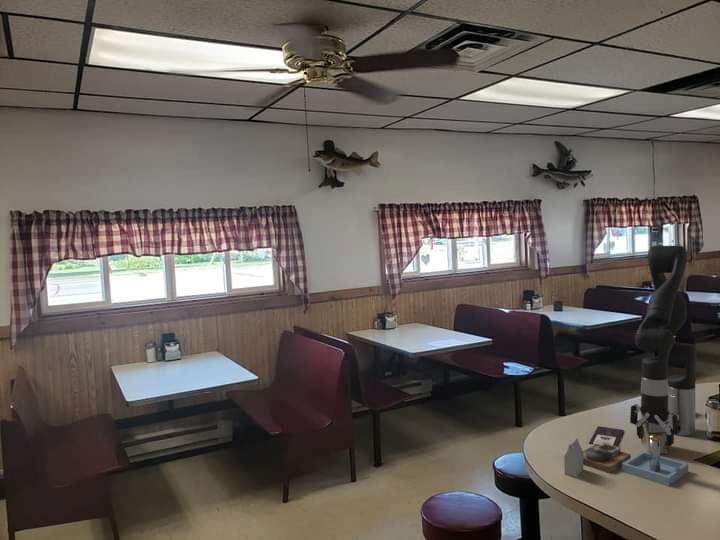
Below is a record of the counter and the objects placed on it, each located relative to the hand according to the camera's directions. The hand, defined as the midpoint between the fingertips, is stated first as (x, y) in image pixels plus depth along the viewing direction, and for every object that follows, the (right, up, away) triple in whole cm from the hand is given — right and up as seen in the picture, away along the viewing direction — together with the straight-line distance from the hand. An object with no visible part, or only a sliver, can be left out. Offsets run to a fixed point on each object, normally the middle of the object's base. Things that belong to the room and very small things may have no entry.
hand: (654, 441), depth 173 cm
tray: (0, -10, +1) cm, 10 cm away
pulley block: (-12, -9, +10) cm, 18 cm away
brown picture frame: (-2, -8, +29) cm, 31 cm away
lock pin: (0, -9, 0) cm, 9 cm away
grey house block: (-24, -11, +3) cm, 27 cm away
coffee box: (+9, -8, +18) cm, 22 cm away
